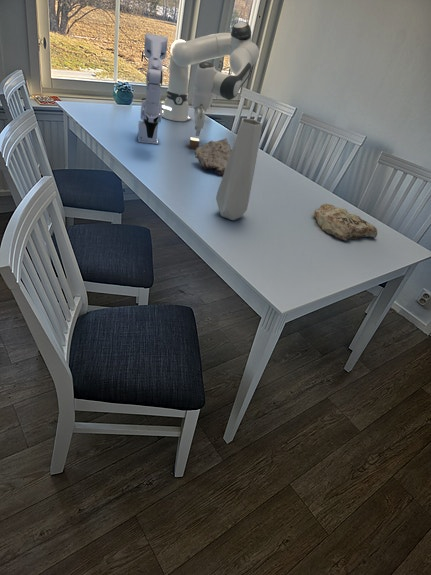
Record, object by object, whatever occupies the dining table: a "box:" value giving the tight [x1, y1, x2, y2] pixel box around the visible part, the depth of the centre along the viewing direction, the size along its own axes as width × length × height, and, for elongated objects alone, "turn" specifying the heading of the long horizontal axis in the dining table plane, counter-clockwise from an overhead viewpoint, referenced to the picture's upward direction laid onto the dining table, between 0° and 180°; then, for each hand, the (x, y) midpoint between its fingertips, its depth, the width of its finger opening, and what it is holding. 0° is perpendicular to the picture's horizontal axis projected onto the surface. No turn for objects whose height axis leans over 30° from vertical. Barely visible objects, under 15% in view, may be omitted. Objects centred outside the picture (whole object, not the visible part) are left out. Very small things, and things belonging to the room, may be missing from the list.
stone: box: [313, 203, 378, 242], centre depth 145 cm, size 19×6×25 cm
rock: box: [193, 138, 232, 176], centre depth 167 cm, size 15×17×15 cm
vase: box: [215, 117, 263, 221], centre depth 128 cm, size 12×12×33 cm
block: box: [188, 136, 200, 150], centre depth 188 cm, size 4×4×4 cm
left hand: (150, 134), depth 165 cm, fingers open, 7 cm apart
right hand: (196, 132), depth 185 cm, fingers open, 8 cm apart
